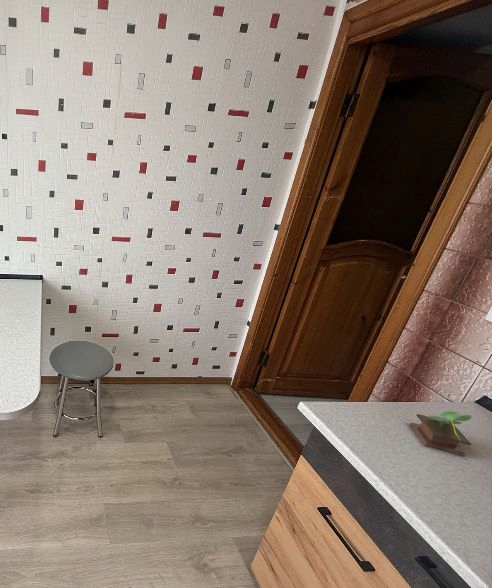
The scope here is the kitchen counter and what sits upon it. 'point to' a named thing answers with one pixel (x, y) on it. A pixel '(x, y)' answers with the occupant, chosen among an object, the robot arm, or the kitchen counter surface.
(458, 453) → the plant stand
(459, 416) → the seedling
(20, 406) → the kitchen counter surface
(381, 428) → the kitchen counter surface
